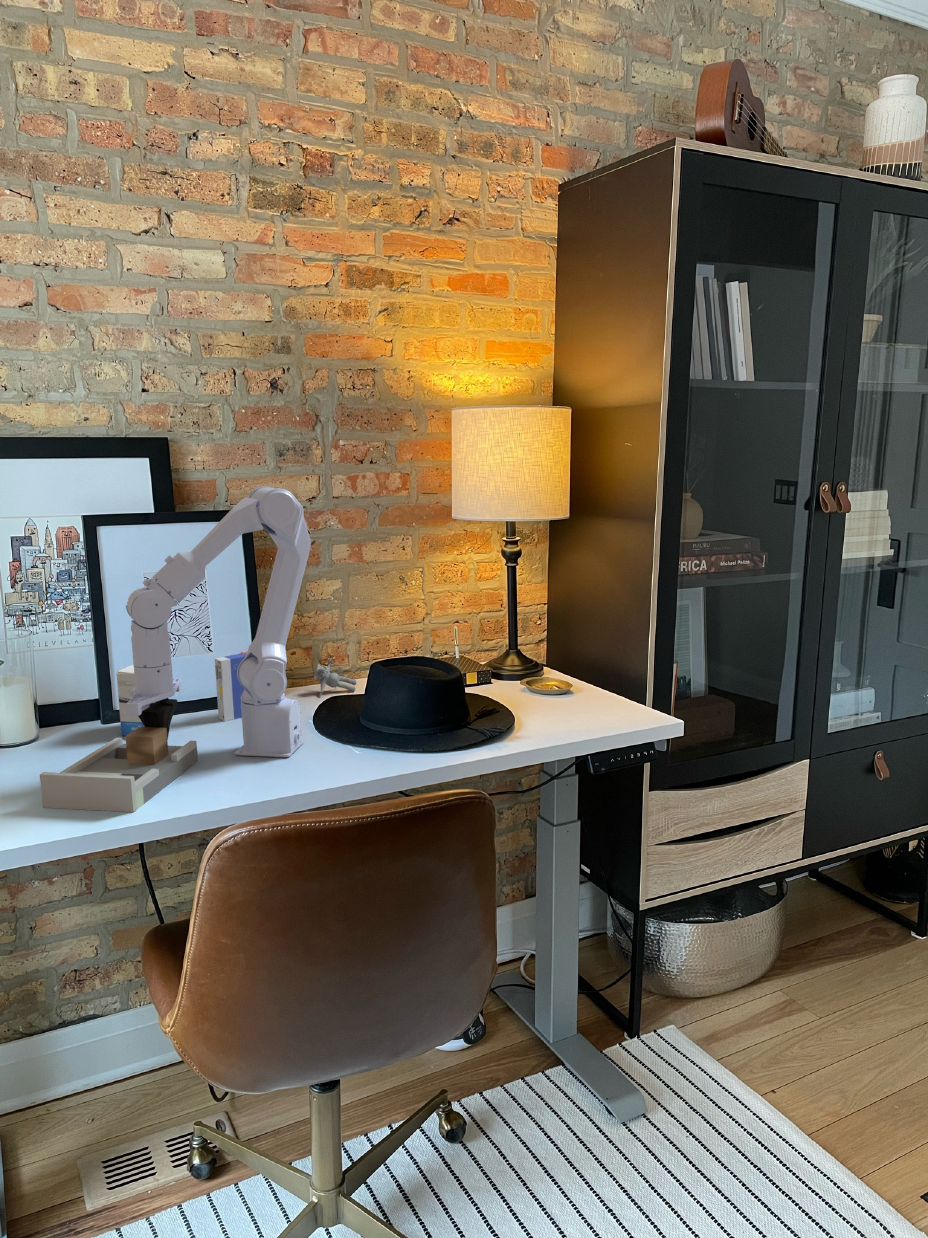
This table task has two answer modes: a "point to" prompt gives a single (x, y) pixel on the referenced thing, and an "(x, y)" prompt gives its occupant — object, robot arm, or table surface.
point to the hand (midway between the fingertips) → (159, 745)
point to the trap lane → (114, 779)
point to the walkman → (229, 686)
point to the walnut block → (147, 745)
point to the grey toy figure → (332, 679)
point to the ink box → (126, 700)
